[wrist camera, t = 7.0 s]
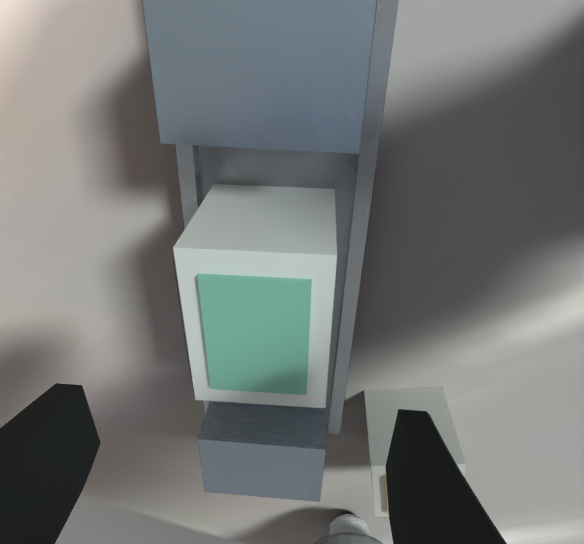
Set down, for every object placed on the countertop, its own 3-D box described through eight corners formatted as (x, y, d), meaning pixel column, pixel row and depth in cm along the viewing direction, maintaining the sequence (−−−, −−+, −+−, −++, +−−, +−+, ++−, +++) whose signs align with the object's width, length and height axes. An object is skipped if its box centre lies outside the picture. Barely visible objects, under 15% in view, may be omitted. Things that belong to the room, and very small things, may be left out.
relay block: (442, 385, 22) (467, 470, 18) (439, 436, 24) (461, 522, 20) (364, 389, 23) (371, 472, 19) (368, 438, 25) (375, 523, 21)
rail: (396, -36, 13) (435, -60, 8) (338, 410, 24) (341, 513, 19) (171, -44, 14) (85, -71, 9) (212, 400, 24) (183, 499, 19)
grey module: (334, 188, 16) (337, 258, 12) (325, 318, 19) (325, 413, 15) (208, 183, 16) (163, 250, 12) (220, 313, 19) (188, 404, 15)
